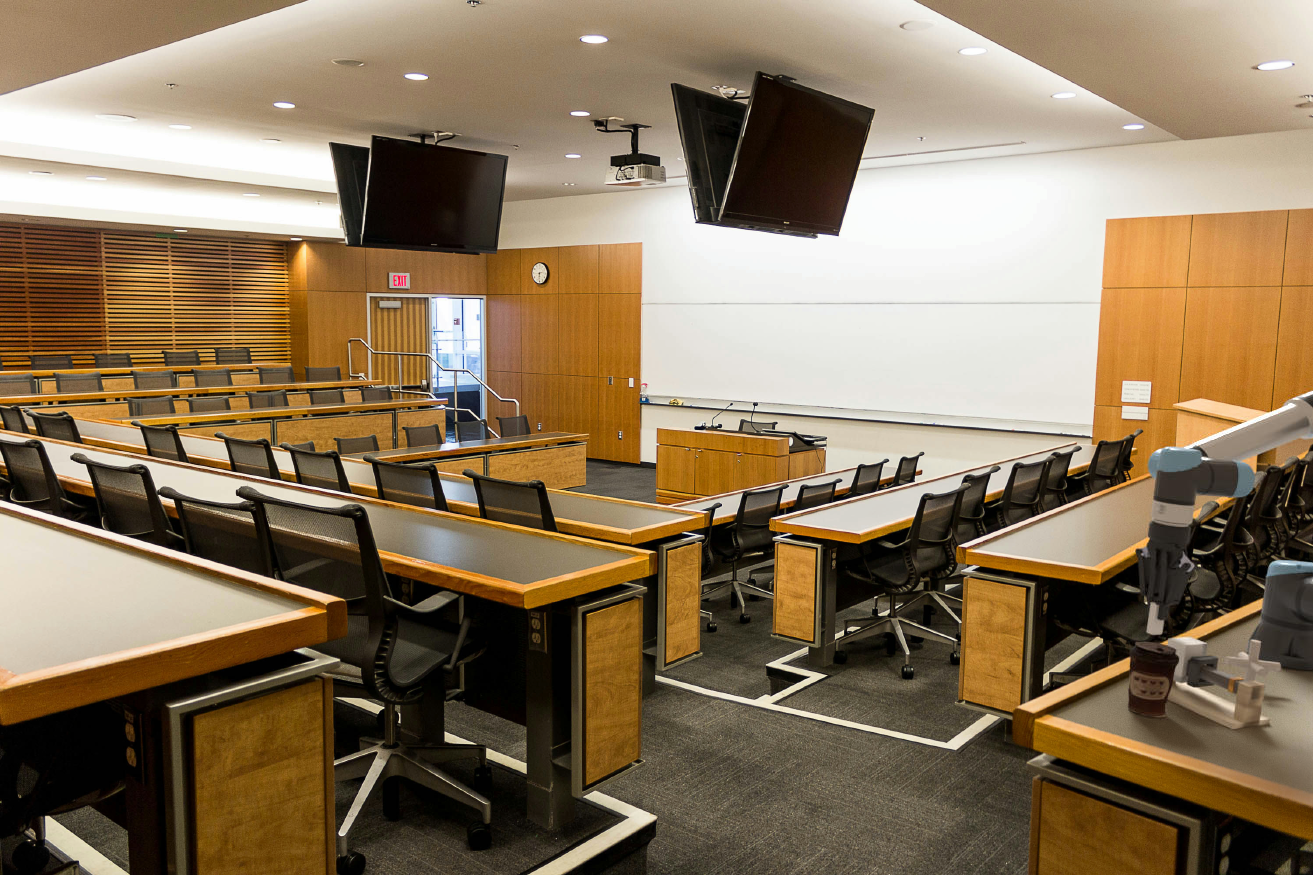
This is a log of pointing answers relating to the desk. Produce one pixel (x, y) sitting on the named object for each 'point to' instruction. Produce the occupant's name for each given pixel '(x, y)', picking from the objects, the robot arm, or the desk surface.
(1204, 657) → the dark grey block
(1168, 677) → the coffee cup
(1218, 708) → the pipe rig
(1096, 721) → the desk surface
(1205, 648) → the sleeve
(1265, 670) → the pipe connector
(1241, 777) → the desk surface
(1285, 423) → the robot arm
